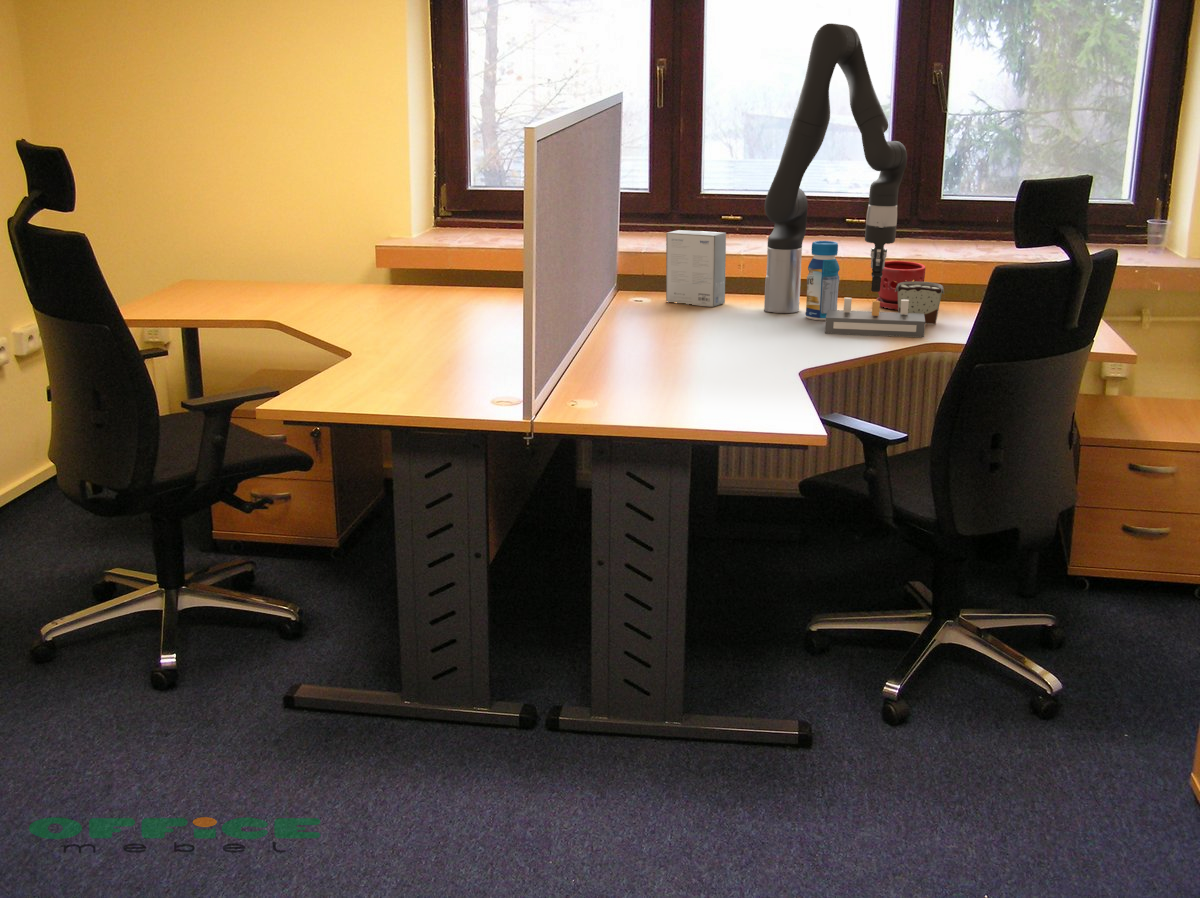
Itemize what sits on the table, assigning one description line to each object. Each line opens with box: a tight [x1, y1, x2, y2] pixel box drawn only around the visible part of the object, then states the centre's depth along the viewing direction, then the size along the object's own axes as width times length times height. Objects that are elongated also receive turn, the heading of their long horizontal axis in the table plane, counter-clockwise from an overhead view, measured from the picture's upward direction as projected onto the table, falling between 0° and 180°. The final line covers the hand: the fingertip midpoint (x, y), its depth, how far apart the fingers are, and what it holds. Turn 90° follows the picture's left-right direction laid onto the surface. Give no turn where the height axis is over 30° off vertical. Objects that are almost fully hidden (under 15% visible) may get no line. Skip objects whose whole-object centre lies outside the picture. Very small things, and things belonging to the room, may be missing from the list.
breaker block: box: [824, 309, 926, 338], centre depth 294 cm, size 24×10×4 cm, turn 77°
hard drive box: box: [665, 229, 727, 308], centre depth 328 cm, size 16×8×20 cm, turn 58°
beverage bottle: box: [805, 240, 840, 322], centre depth 307 cm, size 8×8×20 cm
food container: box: [895, 280, 945, 326], centre depth 304 cm, size 12×6×10 cm, turn 71°
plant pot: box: [875, 260, 927, 311], centre depth 322 cm, size 13×13×12 cm
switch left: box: [843, 297, 853, 312], centre depth 296 cm, size 2×1×4 cm
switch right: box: [900, 300, 909, 315], centre depth 293 cm, size 2×1×4 cm
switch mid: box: [871, 300, 881, 316], centre depth 292 cm, size 2×1×4 cm
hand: (875, 291), depth 299 cm, fingers closed
